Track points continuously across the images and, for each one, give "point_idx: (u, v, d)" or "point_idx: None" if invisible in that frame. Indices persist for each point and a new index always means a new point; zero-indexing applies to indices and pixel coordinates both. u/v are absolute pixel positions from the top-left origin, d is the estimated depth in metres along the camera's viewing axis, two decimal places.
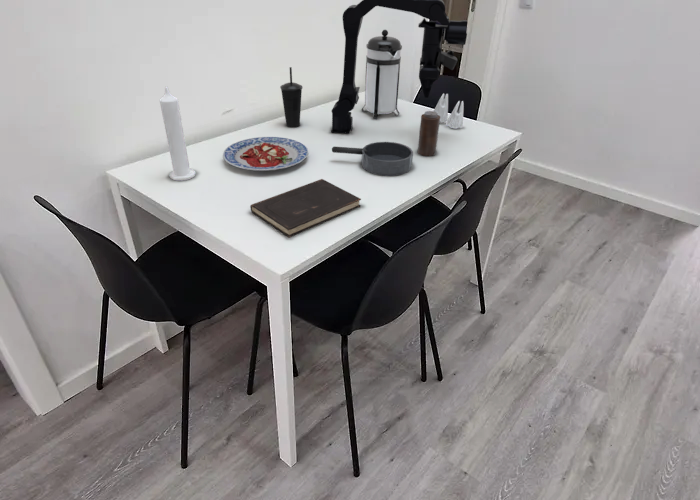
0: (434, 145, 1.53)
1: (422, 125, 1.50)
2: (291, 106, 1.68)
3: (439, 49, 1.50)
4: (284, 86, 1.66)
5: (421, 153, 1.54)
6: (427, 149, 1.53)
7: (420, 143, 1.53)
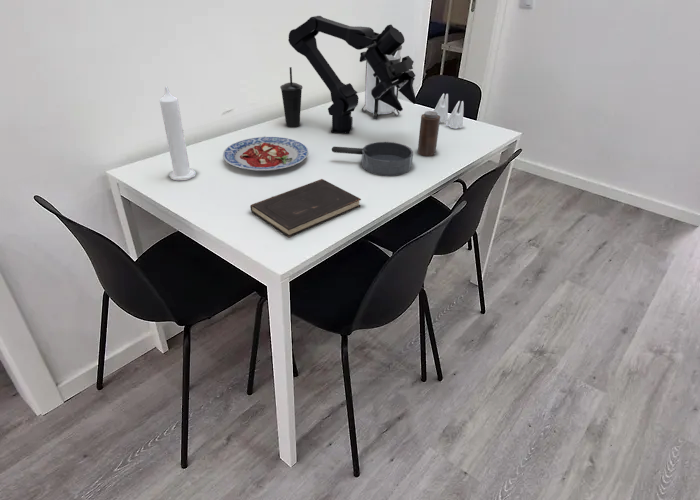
0: (434, 145, 1.53)
1: (422, 125, 1.50)
2: (291, 106, 1.68)
3: (384, 64, 1.48)
4: (284, 86, 1.66)
5: (421, 153, 1.54)
6: (427, 149, 1.53)
7: (420, 143, 1.53)
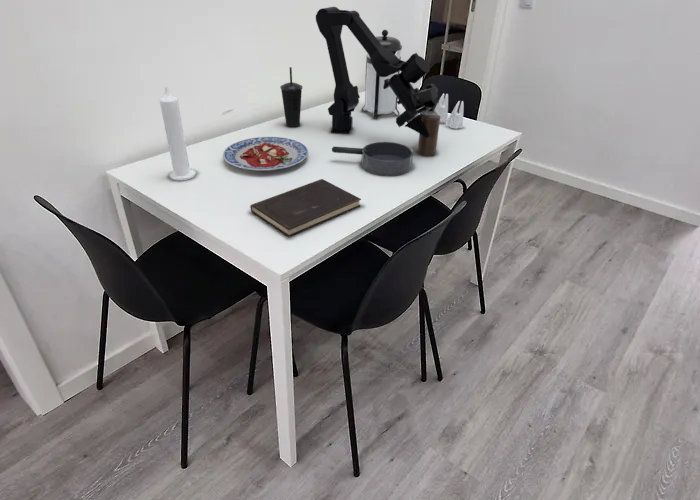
0: (434, 145, 1.53)
1: None
2: (291, 106, 1.68)
3: (409, 92, 1.47)
4: (284, 86, 1.66)
5: (421, 153, 1.54)
6: (427, 149, 1.53)
7: (420, 143, 1.53)
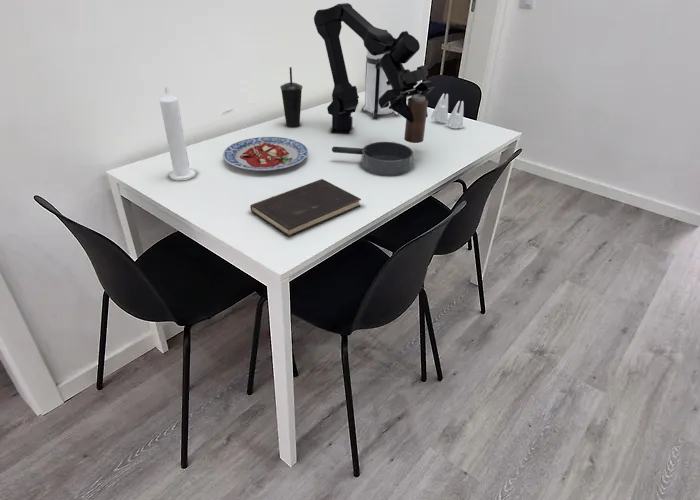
0: (420, 131, 1.43)
1: None
2: (291, 106, 1.68)
3: (396, 73, 1.40)
4: (284, 86, 1.66)
5: (406, 139, 1.46)
6: (412, 135, 1.44)
7: (406, 128, 1.45)
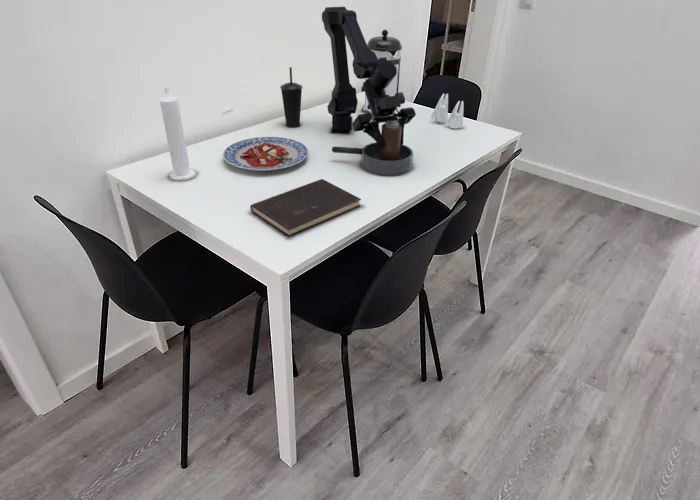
0: (392, 158, 1.42)
1: (381, 134, 1.41)
2: (291, 106, 1.68)
3: (374, 97, 1.40)
4: (284, 86, 1.66)
5: None
6: None
7: (380, 153, 1.44)
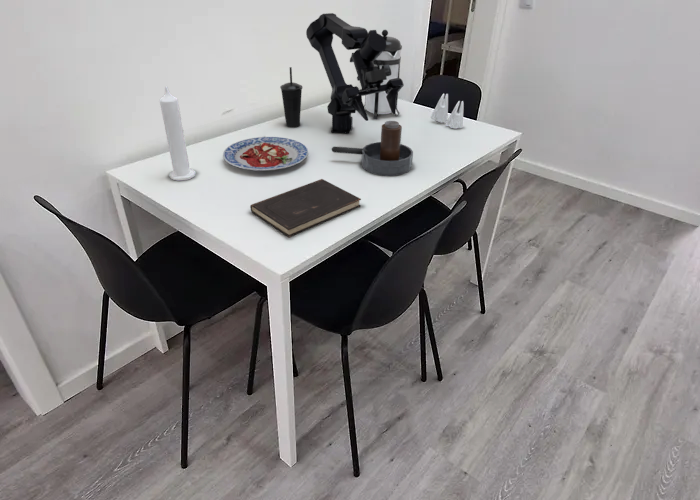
0: (392, 158, 1.42)
1: (381, 134, 1.41)
2: (291, 106, 1.68)
3: (362, 70, 1.45)
4: (284, 86, 1.66)
5: None
6: None
7: (380, 153, 1.44)
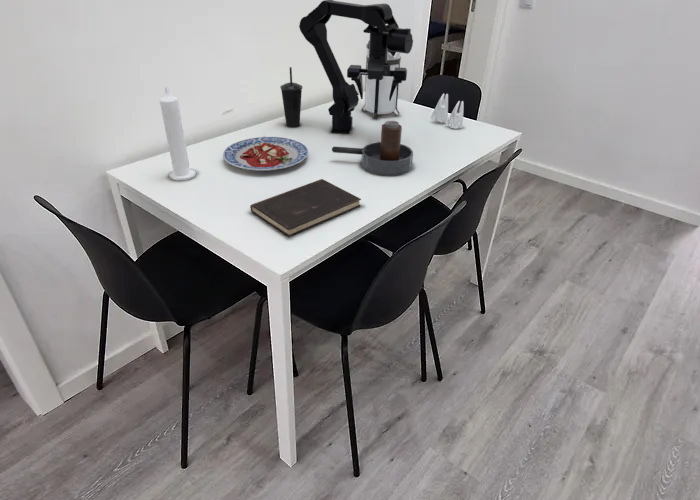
0: (392, 158, 1.42)
1: (381, 134, 1.41)
2: (291, 106, 1.68)
3: (369, 55, 1.49)
4: (284, 86, 1.66)
5: None
6: None
7: (380, 153, 1.44)
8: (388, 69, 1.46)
